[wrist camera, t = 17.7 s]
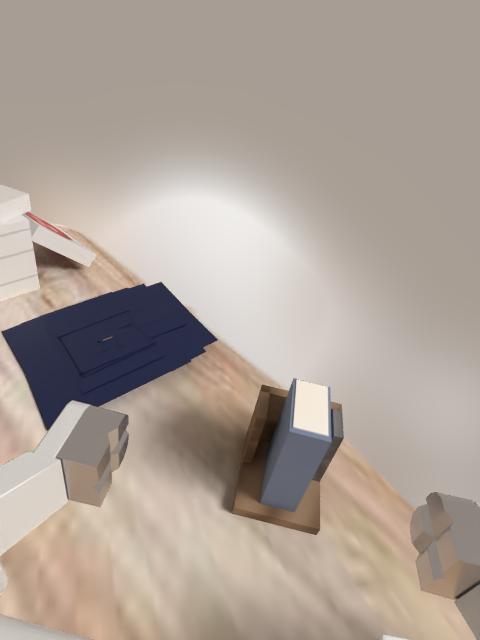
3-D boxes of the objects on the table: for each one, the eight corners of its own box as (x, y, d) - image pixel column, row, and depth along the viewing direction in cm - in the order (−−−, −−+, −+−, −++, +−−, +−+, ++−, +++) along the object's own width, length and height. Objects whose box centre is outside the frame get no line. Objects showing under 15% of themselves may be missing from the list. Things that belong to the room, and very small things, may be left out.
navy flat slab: (223, 356, 70) (224, 342, 68) (53, 442, 55) (46, 428, 53) (157, 287, 84) (156, 273, 82) (6, 341, 69) (-1, 326, 67)
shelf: (231, 513, 49) (248, 462, 43) (246, 436, 59) (261, 384, 52) (316, 535, 49) (347, 487, 42) (316, 454, 59) (342, 404, 52)
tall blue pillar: (260, 503, 50) (289, 430, 40) (267, 450, 56) (293, 377, 47) (294, 512, 49) (331, 441, 40) (297, 458, 56) (330, 386, 47)
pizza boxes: (102, 274, 87) (98, 194, 76) (-53, 325, 66) (-88, 227, 56) (56, 238, 95) (47, 163, 84) (-94, 274, 75) (-131, 181, 64)
